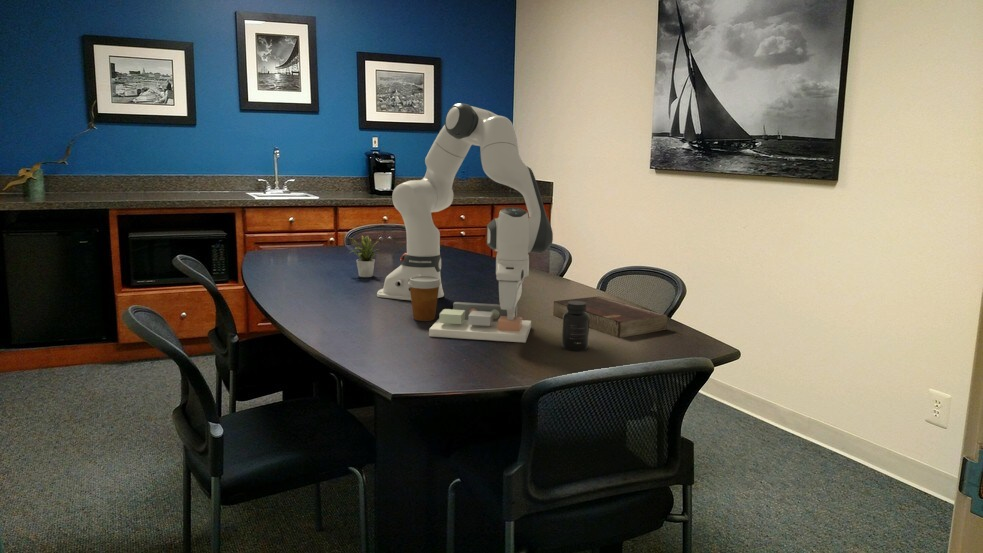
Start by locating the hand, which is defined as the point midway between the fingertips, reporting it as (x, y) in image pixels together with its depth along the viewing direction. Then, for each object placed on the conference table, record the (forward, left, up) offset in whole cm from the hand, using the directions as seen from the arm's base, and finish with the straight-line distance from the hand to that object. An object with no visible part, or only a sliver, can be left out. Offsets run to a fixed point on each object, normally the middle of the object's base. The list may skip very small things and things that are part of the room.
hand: (510, 318), depth 193 cm
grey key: (-8, 0, -3) cm, 9 cm away
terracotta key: (0, 0, -4) cm, 4 cm away
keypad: (-8, +2, -5) cm, 10 cm away
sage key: (-16, 0, -3) cm, 16 cm away
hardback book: (+27, +22, -5) cm, 35 cm away
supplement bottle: (+18, -8, -5) cm, 20 cm away
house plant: (-66, +74, -5) cm, 99 cm away
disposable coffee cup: (-27, +13, -5) cm, 30 cm away
